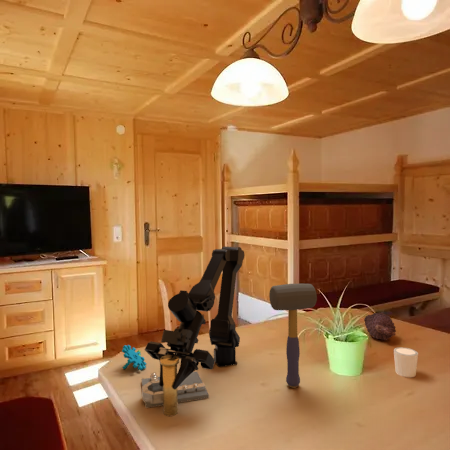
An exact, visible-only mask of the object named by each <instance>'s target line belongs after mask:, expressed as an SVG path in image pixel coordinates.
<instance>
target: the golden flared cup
mask: <svg viewBox="0 0 450 450" xmlns="http://www.w3.org/2000/svg"><path fill="white" fill-rule="evenodd" d="M179 363H180V359H179V356H177V355H165V356H163V357H161V358H160V360H159V365H160V364H161V365H163V405H162V406H163V415H164V416H167V417H173V416H176V415H177V414H178V413H179V407H178V404H179V403H178V394H177V388H176V389H175V390H174V389H173V384H174V381H175V378H176V376H177V373H178V364H179Z"/></svg>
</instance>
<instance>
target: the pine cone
mask: <svg viewBox="0 0 450 450" xmlns="http://www.w3.org/2000/svg"><path fill="white" fill-rule="evenodd" d="M363 321H364V325H365V328H366V331H367V333H369V335H370V336H372V338H374V339H377V340H381V341H387V340H389V339H391V338H392V337H395V336H396V335H397V334H396V332H397V330H396V326H395V323H394V321H393V319H392V318H391V317H390V315H387V314H384V313H382V312H375V313H374V312H373V313H372V314H367V315H366V316H365V317H364V319H363Z"/></svg>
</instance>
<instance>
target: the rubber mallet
mask: <svg viewBox="0 0 450 450" xmlns="http://www.w3.org/2000/svg"><path fill="white" fill-rule="evenodd" d="M268 297H269V303H270V306H271V308H272V309H273V310H274V311H288V320H287V321H288V322H287V324H288V329H287V330H288V333H287V334H288V335H287V339H286V347H285V348H286V353H285V354H286V361H287V362H286V363H287V366H286V367H287V371H286V373H287V374H286V377H285V378H286V379H285V382H286V384H287V386H288V387H289V388H298V387H299V385H300V384H301V378H300V368H299V366H300V365H299V364H300V363H299V361H300V354H301V353H300V341H299V336H298V310H305V309H311V308H314V307H315V305H316V304H317V301H318V296H317V291H316V288H315V287H314V285H313V284H312V283H286V284H278V285H272V286H271V287H270V289H269V296H268Z"/></svg>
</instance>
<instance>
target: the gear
mask: <svg viewBox="0 0 450 450" xmlns="http://www.w3.org/2000/svg"><path fill="white" fill-rule="evenodd" d="M121 352H122V353H123V357H124V358H125V359H127V362H126V363H125V364H124V365H123V366H122V369H123V370H126V369H127V368H128V367H129V366H130V365H131V364H132V367H133V368H134V369H136V368H137V369H138V370H139V371H142V370H146V368H147V366H146V365H147V362H146V361H145V360H146V359H145V357H144V356H142V353H141V350H140V349H138V350H137V348H135V347H134V346H133V347H132V346H131V345H130V344H127V345H126V344H125V345H123V346H122V349H121Z"/></svg>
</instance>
